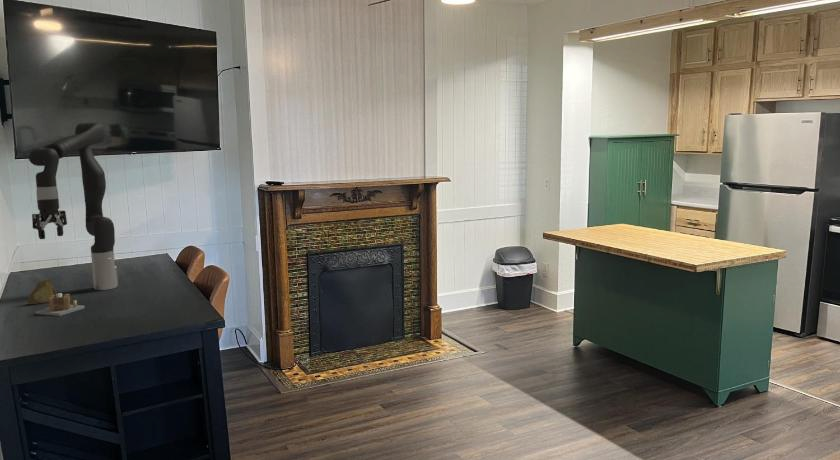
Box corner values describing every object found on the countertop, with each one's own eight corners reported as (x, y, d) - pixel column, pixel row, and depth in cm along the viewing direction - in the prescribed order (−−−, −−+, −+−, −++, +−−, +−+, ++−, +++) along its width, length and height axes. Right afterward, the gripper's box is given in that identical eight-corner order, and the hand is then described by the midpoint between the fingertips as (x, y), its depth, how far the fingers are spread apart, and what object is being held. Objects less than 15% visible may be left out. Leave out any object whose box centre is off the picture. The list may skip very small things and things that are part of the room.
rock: (22, 301, 257) (48, 296, 258) (23, 282, 261) (49, 278, 262) (34, 311, 266) (59, 306, 268) (35, 293, 270) (60, 288, 272)
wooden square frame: (52, 307, 251) (51, 295, 250) (70, 305, 253) (69, 293, 252) (50, 311, 245) (48, 298, 244) (68, 309, 247) (67, 297, 247)
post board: (61, 306, 256) (59, 289, 255) (84, 308, 253) (83, 291, 252) (35, 313, 245) (33, 296, 244) (59, 315, 242) (58, 298, 241)
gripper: (55, 196, 261) (58, 234, 264) (24, 199, 248) (28, 239, 250) (69, 196, 259) (72, 235, 261) (39, 199, 246) (43, 240, 248)
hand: (51, 237), depth 256 cm, fingers open, 8 cm apart
